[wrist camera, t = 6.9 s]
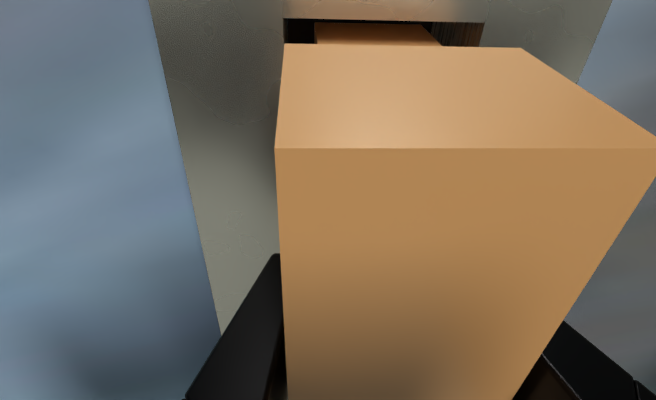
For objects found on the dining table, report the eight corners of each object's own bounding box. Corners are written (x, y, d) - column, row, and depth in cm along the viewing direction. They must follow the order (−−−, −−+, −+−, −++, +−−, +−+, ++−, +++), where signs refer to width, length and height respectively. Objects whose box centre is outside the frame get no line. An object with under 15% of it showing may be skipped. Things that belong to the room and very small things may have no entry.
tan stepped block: (448, 0, 9) (673, 149, 3) (393, 277, 14) (449, 496, 9) (289, -4, 8) (274, 148, 3) (295, 280, 14) (293, 506, 9)
